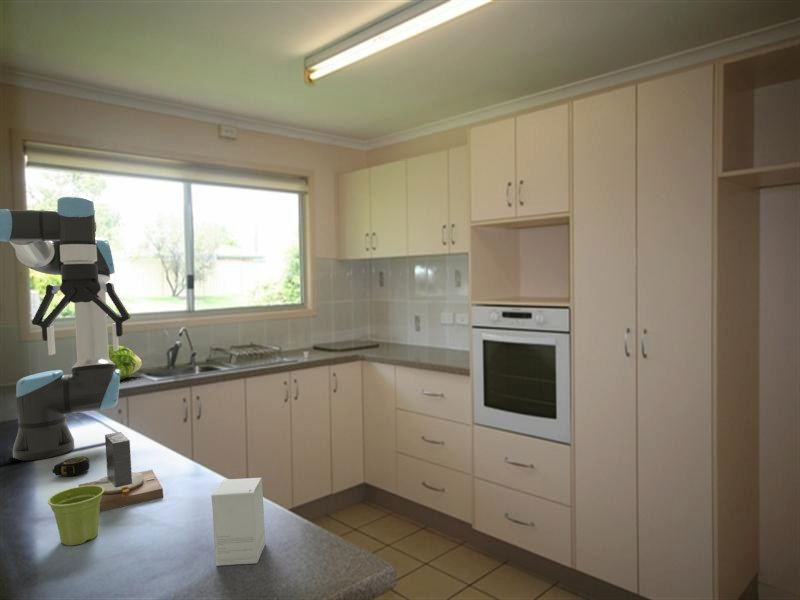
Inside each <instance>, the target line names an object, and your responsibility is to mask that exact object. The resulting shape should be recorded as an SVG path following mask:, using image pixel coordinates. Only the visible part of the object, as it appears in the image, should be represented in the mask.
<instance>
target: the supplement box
mask: <svg viewBox="0 0 800 600" xmlns="http://www.w3.org/2000/svg"><path fill="white" fill-rule="evenodd" d="M263 491H264V490H263V479H262V477H251V478H229V479H228V478H227V479H223V480H221V482H220V483H219V485H218V486H217V488H216V489H215V490H214V491H213V493H212V494H211V504H212V521H213V538H214V541H213V542H214V552H215V555H214V556H215V565H216V566H217V567H218V566H231V565H233V566H234V565H248V564H249V565H250V564H258V563H259V559H260V558H261V555H262V553H263V550H264V548H265V546H266V533H265V532H266V530H265V528H266V527H265V511H264V494H263V493H264V492H263Z"/></svg>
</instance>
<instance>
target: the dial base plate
mask: <svg viewBox="0 0 800 600" xmlns="http://www.w3.org/2000/svg"><path fill="white" fill-rule="evenodd" d="M137 473H141V474H143V478H144V482H143V484H141V485H140V486H138V487H137V488H134V489H132V490H129V491H127V492H121V493H114V494H102V499H101V501H100V509H99V511H101V512H104V511H103V510H105V511H108V510H107V509H109V510H112V508H114V509H117V508H116V507H118V508H121V507H120V506H122V507H125V506H124V505H127V506H130V504H131V505H134V504H138V503H143V502H147V501H152V500H156V499H159V498H160V499H161V498H164V489H163V485H161V483H160V481H159V479H158V477H157V476H156V473H155V472H154V470H153V469H148V470H144V471H143V470H142V471H138V472H137ZM97 481H98V480H95V481H89V482H85V483H80V484H77V485H78V486H77V487H80V486H88V485H95V483H96V482H97Z"/></svg>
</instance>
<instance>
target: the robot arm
mask: <svg viewBox="0 0 800 600" xmlns="http://www.w3.org/2000/svg"><path fill="white" fill-rule="evenodd" d="M56 203H57V204H56V206H57V208H56V210H48V209H47V210H45V209H43V210H41V209H40V210H37V209H36V210H35V209H32V210H31V209H11V208H10V209H8V208H3V209H1V208H0V242H4V243H5V242H6V243H8V242H9V243H10V244H11V246H12V247H13V249H14V250H15V256H16V259H17V260H18V261H19V263H21V264H22V265H23V266H25V268H26V267H27V268H28V269H30V270H32V271H35V272H39V273H42V274H46V275H53V276H61V284H60V285H55V284H47V285H46V286H45V295H44V297H43V298H42V301H41V303H40V304H39V306H38V309H37V311H36V312H35V315H34V316H33V319H32V321H31V324H32V325H33V326H35V325H36V326H38V327H41V334H42V336H41V337H42V341H44V342H45V341H47V351H48V352H47V353H48V356H53V355H56V354H57V353H56V341H55V340H56V339H55V326H54V325H52V323H53V322H54V321H55V320H56V319H57V318H58V316H59V315H60V314H61V313H62V312H63V311H64V310H65V308H66V307H67V306H68V305H69V304H70V303H74V321H75V341H76V343H75V344H76V345H75V346H76V347H75V348H76V363H75V364H73V366H72V367H71V373H69V374H64V371H63V370H62V369H55V370H49V371H43V372H39V373H34V374H31V375H27V376H24V377H22V378H20V379H19V380H18V381H17V382H16V387H15V388H16V389H15V390H16V391H15V393H16V394H15V398H16V405H17V406H16V407H17V422H18V432H17V433H16V434H17V435H16V437H15V442H14V444H13V447H12V458H13V459H14V458H15V459H14V460H16V459H18V460H17V461H35V460H36V461H37V460H42V459H49V458H53V457H56V456H61V455H63V454H65V453H68V452H69V453H70V452H71V451H72V450H73V449H75V439H74V437H73V435H72V432H71V430H70V428H69V426H68V424H67V419H66V417H67V416H66V415H67V414H68V415H69V414H76V413H77V414H78V413H84V412H85V413H86V412H91V411H102V410H106V409H113V408H115V407H116V405H117V404H118V403H119V393H120V382H121V380H120V370H119V369H116V370H115V363H113V362H112V361H111V360H110V359H109V348H108V345H109V335H108V334H109V333H108V317H109V318H110V319H111V320H112V321H113V322H114V323H112V324H111V330H112V331H111V332H112V333H111V334H112V345H113V351H117V350H119V346H120V345H119V343H120V342H119V337H122V336H123V334H124V331H123V323H124V322H126V321H128V320H130V319H131V315H130V313H129V312H128V310H127V309H126V307H125V305H124V304H123V302H122V301H121V299H120V298H119V296H118V294H117V292H116V291H115V285H114V283H113V282H109V281H110V280H111V275H112V274H115V265H114V258H113V254H112V250H111V245H110V242H109V241H108V239H106V238H103V237H97V235H96V232H97V223H96V217H95V213H96V210H95V207H94V204H95V203H94V201H93V200H92V199H91V198H88V197H85V196H84V197H83V196H62V197H59V198H58V200H57V202H56ZM59 291H60V292H61V293H62V294H63V295H64V296H63V297H62V299H60V302H59V303H58V304H57V305H56V306H55V307H54V308H53V310H52V311H50V312H49V314H48V315H47V316H46V317H45V315H46V313H47V312H48V309H49V307H50V306H51V303H52V301H53V299H54V297H55V295H57V294H58V292H59ZM106 293H107V295H108V297H109V298H110V300H111V301H112V303H113V304H114V306H115V307H116V309H117V311H118V313H119V314H120V315H121V316H120V315H119V314H118V313H117V312H116V311H115V310H114V309H113V308H112V307H110V306H109V305H108V304H107V297H106ZM107 316H108V317H107ZM44 317H45V319H44ZM51 325H52V326H51Z"/></svg>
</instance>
